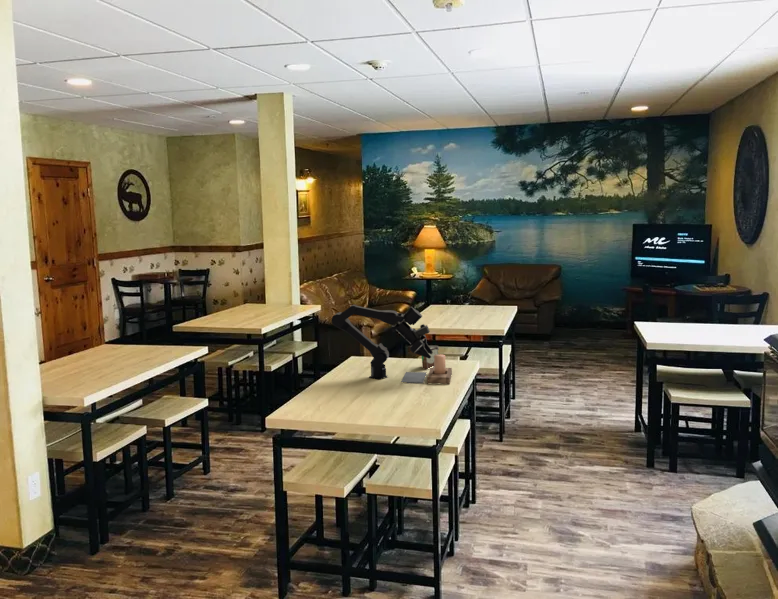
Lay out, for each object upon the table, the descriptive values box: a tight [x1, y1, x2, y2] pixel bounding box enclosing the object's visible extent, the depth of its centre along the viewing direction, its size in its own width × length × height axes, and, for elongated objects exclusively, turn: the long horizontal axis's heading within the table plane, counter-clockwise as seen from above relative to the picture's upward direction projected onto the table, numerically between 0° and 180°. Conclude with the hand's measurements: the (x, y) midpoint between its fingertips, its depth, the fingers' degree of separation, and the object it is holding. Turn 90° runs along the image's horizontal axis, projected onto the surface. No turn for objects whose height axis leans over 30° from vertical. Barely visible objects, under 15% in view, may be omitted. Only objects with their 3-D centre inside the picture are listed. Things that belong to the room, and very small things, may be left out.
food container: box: [421, 345, 439, 370], centre depth 329 cm, size 12×6×10 cm, turn 144°
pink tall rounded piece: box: [433, 353, 447, 374], centre depth 306 cm, size 5×5×11 cm
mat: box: [401, 371, 427, 384], centre depth 308 cm, size 10×18×1 cm, turn 172°
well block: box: [427, 367, 453, 385], centre depth 306 cm, size 10×18×3 cm, turn 172°
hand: (431, 355), depth 305 cm, fingers open, 9 cm apart
